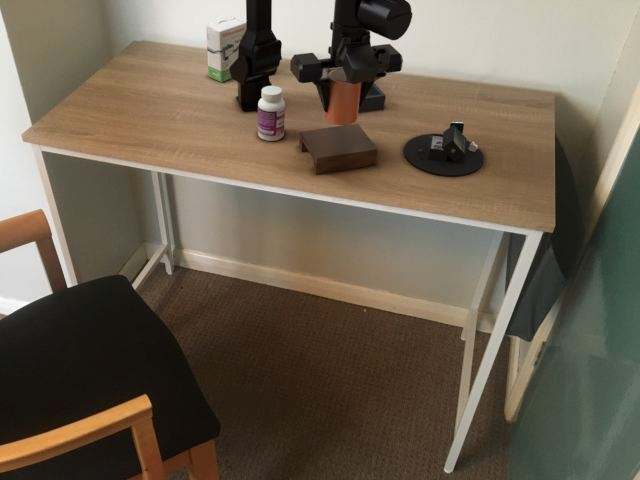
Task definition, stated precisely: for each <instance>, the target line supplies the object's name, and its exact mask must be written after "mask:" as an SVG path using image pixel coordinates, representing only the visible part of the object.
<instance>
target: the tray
mask: <svg viewBox="0 0 640 480" xmlns="http://www.w3.org/2000/svg"><path fill="white" fill-rule="evenodd" d="M330 71H332V70H329V71H328V74H329V72H330ZM385 103H386V94H385V93H384V92H383V91H382V90H381V88H380V87H379V86H378V85H377V84H376V83H375V82H374V84H373V85H372V87H371V88H370V90H369V92H368V94H367V96H366V97H365V99H364V101H363V103H362V105H361V107H360V108H359V110H358V113H365V112H372V111H379V110H384V109H385Z"/></svg>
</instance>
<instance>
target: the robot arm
mask: <svg viewBox="0 0 640 480" xmlns="http://www.w3.org/2000/svg"><path fill="white" fill-rule="evenodd" d="M272 15H273V0H245V16H246V19H245V20H246V21H245V22H246V31H245V33H244V35H243V37H242V39H241V41H240V43H239V51H238V58H237V59H236V61H235V62H234V63H233V64H232V65H231V66H230V67H229V70H230V74H231V79H232V80H234V81H235V82H237V96H235V100H236V102H237V104H238V105H239V107H240V110H241V111H242V112H251V111H258V102H259V100H260V99H261V98H262V96H261V94H262V89H263V88H264V87H266V86H273V85H272V84H273V83H272V82H271V80H270V77H272V76H275V75H276V74H277V70H278V68H279V67H280V65H281V64H280V63H281V61H282V60H283V56H282V48H283V47H282V46H283V43H282V41H281V39H278V38H277V37H276V35H275V33H274V31H273V29H272V28H273V27H272V23H273V22H272V21H273V20H272V19H273V18H272V17H273V16H272ZM412 19H413V12H412V5H411V4H410V2H408V1H407V0H334V9H333V20H332V21H330V25H329V29H330V30H331V31H332V32H331V34H332V35H331V45H330V46H328V47H327V53H328V54H329V57H328V58H320V59H319V58H318V57H317V56H316V54H315V53H314V52H306V53H298V54H293V56H292V57H291V59H290V60H289V61H290V62H289V71H290V72H291V73H292V75H293V76H294V77H295V79H296V80H297V81H298V83H301V84H308V83H312V84H313V85H314V86H315V87H316V90H317V93H318V96H319V101H320V103H321V106H322V109H323V112H324V113H325V112H327V111H328V106H329V86H330V84H331V81H330V79H329V78H328V71H329V70H337V69H343V70H344V72H345V74H346V77H347V81H348V82H349V83H351V84H357V83H360V82H362V86H361V94H360V102H359V108H360V107H361V105H362V103H363V101H364V99H365V97H366V96H367V94H368V92H369V90H370V88H371V87H372V85H373V84H374V83H375V82H376V81H378V80H379V79H381V78H385V77H386V76H387V74H390V73H398V72H401V71H402V68H403V64H404V59H403V55H402V54H401V52H400V51H398V50H397V49H396V48H395V47H394V46H393V45H392V44H391V43H385V44H377V45H372V43H371V32H372V33H373V34H376V35H378V36H381V37H383V38H386V39H387V40H390V41H398V40H399V39H401V38H402V37H403V36H404V35H405V33H406V32H407V31H408V30H409V27H410V25H411V23H412Z"/></svg>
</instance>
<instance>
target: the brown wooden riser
mask: <svg viewBox="0 0 640 480" xmlns="http://www.w3.org/2000/svg"><path fill="white" fill-rule="evenodd" d="M298 142H299V143H298V148H299V149H300V151H301V152H307V151H308V153H309V154H310V156H311V157H312V159H313V164H312V171H313V173H314V175H321V174H326V173H328V174H329V173H334V172H340V171H347V170H353V169H360V168H367V167H373V166H376V165H377V160H378V159H377V158H378V153H379V148H378V147H377V146H376V144H375V143H374V142H373V141H372V139H371V138H370V137H369V136H368V134H367V133H366V132H365V131H364V129H363V128H362V127H361V125H360V124H359V123H352V124H349V125H337V126H330V127H323V128H315V129H308V130H302V131H299V141H298Z"/></svg>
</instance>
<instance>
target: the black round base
mask: <svg viewBox="0 0 640 480" xmlns="http://www.w3.org/2000/svg"><path fill="white" fill-rule="evenodd" d="M464 129H465V123H464V122H462V121H451V122H450V123H449V128H447V129H445V130H444V131H443V132H442V133H427V134H420V135H417V136H415V137H413V138H411V139H409V140H408V141H407V142H406V143H405V145H404V147H403V156H404V158H405V160H406V161H407V162H408V163H409V164H410V165H411V166H412V167H414V168H415V169H418V170H420V171H422V172H424V173H427V174H429V175H434V176H440V177H449V178H451V177H452V178H455V177H456V178H457V177H464V176H468V175H471V174H473V173H475V172H477V171H478V170H480V169H481V167H482V166H483V163H484V155H483V152H482V151H481V149H480V148H479V145H478V144H477V143H475V141H472V142H470V141H469V140H467V137H466V135H464Z"/></svg>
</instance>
